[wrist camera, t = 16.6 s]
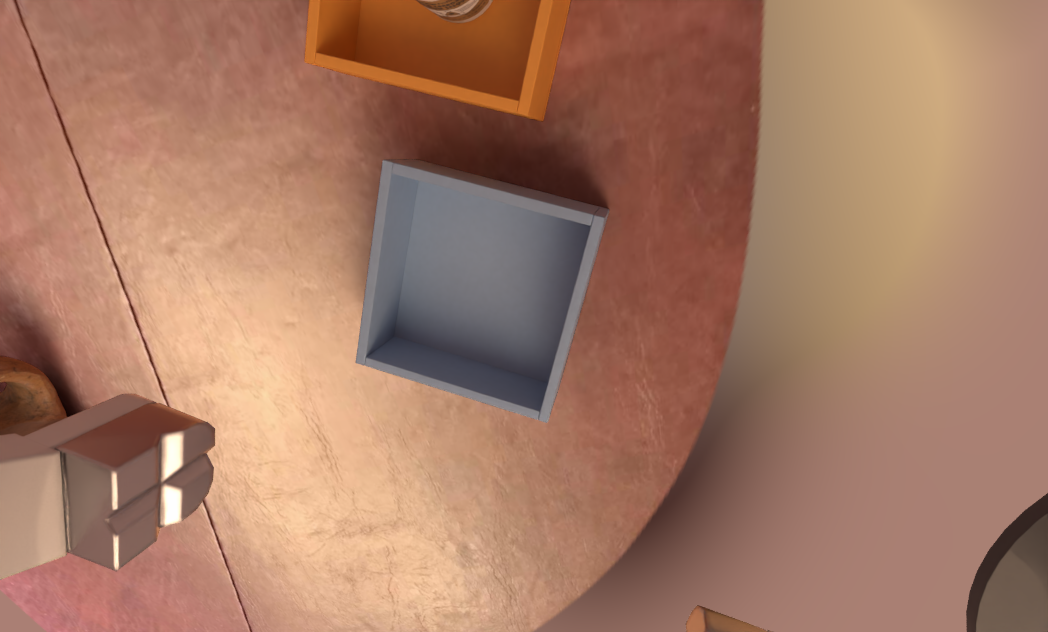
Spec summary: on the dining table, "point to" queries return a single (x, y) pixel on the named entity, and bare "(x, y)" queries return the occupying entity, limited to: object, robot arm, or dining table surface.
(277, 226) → the dining table surface
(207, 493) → the robot arm
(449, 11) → the pill bottle
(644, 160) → the dining table surface
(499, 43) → the amber bin
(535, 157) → the dining table surface
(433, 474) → the dining table surface
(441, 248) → the blue bin
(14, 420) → the bowl
